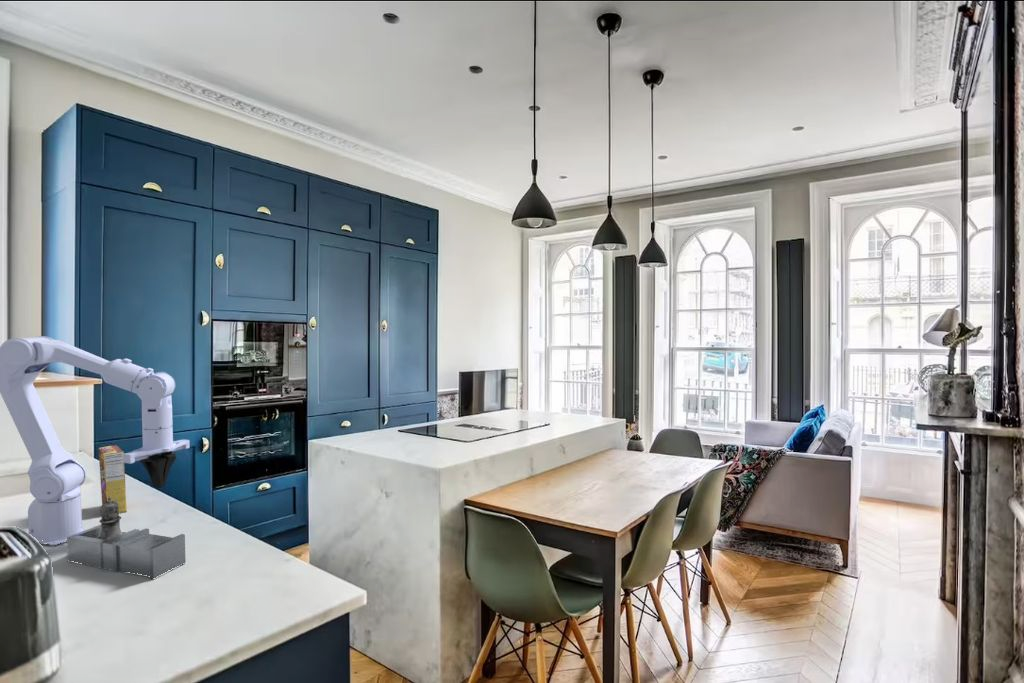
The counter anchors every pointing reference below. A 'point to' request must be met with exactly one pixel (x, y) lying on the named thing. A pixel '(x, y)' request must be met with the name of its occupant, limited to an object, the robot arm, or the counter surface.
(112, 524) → the grey tapered rounded piece
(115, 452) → the candy box
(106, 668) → the counter surface
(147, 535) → the grey divided tray
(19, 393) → the robot arm
